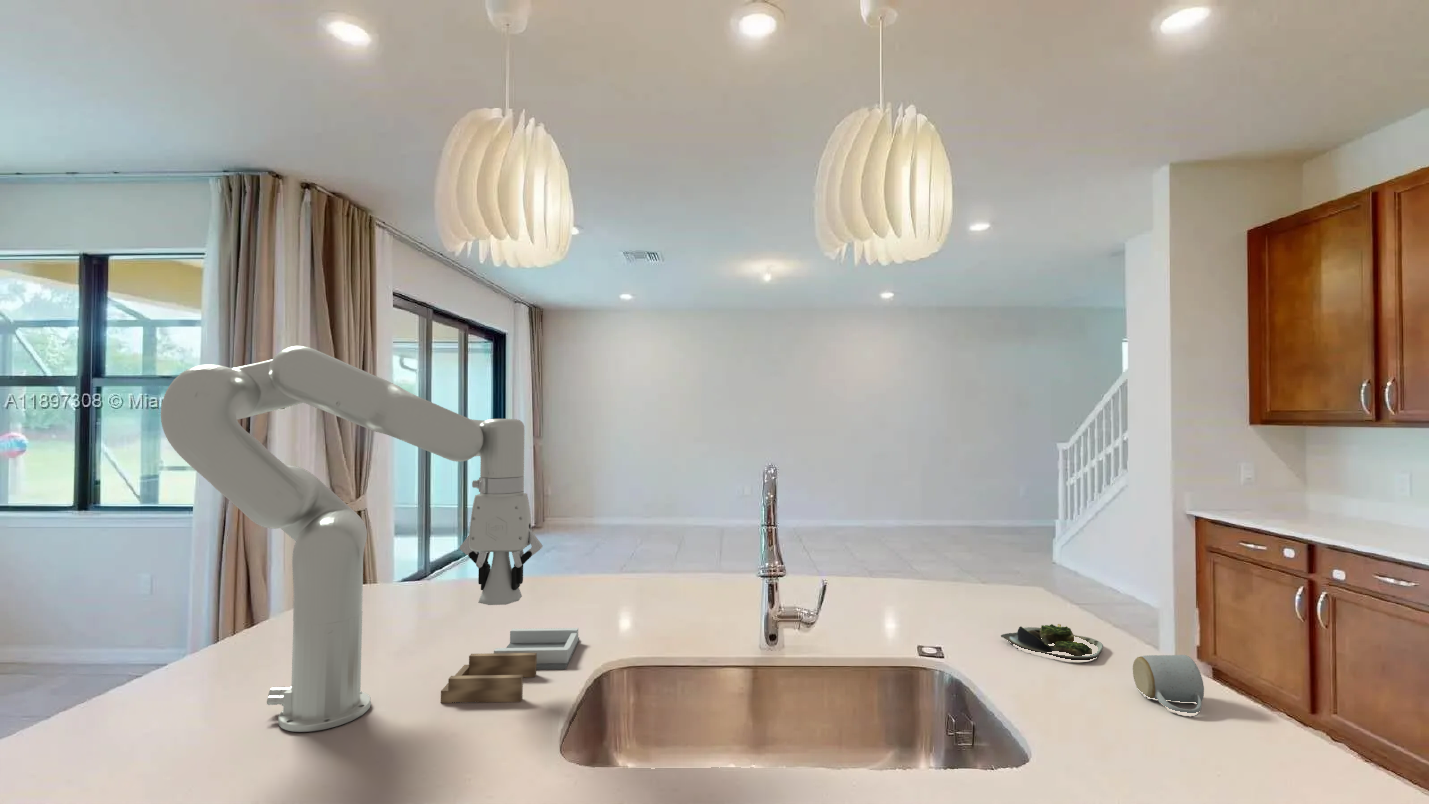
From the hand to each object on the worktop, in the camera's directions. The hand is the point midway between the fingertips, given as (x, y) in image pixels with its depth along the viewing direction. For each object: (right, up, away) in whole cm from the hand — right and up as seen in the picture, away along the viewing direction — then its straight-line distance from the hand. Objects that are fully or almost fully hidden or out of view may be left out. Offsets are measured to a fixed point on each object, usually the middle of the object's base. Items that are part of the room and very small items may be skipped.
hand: (500, 587), depth 112 cm
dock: (+3, -18, +14) cm, 23 cm away
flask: (0, -3, 0) cm, 3 cm away
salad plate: (+111, -19, +20) cm, 114 cm away
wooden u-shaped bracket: (0, -17, -2) cm, 17 cm away
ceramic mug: (+117, -18, -6) cm, 118 cm away
